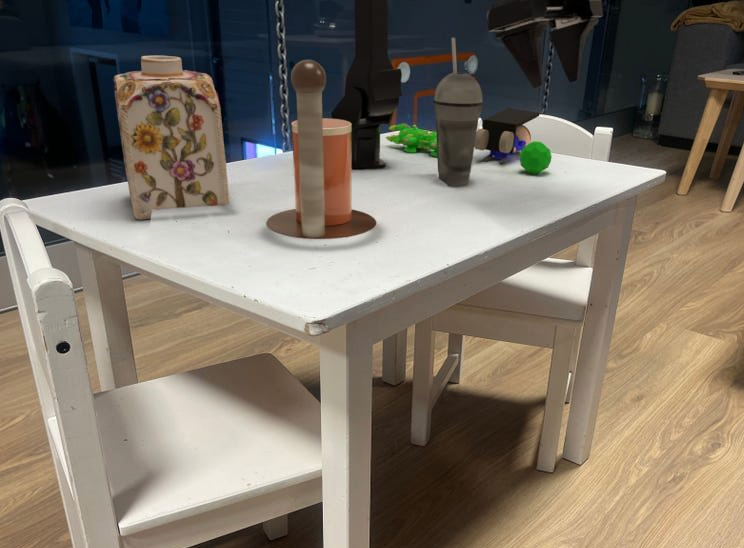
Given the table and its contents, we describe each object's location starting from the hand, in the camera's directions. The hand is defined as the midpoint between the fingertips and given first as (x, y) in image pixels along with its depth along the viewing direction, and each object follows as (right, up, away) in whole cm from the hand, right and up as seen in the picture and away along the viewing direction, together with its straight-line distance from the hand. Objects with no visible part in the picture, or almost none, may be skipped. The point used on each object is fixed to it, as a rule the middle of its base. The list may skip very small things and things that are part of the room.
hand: (556, 84), depth 92 cm
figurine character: (-2, 0, +34) cm, 34 cm away
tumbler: (-29, -18, -5) cm, 35 cm away
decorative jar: (-49, -15, +2) cm, 51 cm away
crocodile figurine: (-15, +2, +37) cm, 39 cm away
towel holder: (-29, -20, -6) cm, 36 cm away
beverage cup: (-12, -9, +17) cm, 22 cm away
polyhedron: (+2, -5, +24) cm, 25 cm away
